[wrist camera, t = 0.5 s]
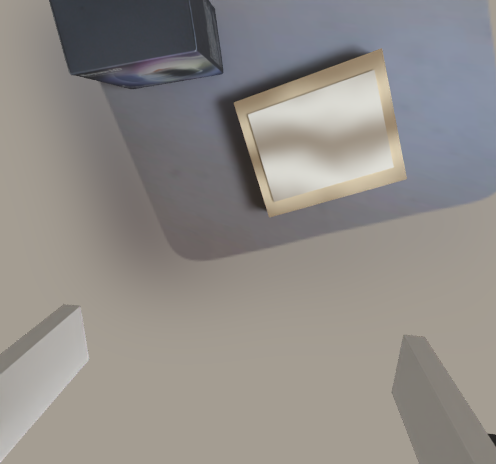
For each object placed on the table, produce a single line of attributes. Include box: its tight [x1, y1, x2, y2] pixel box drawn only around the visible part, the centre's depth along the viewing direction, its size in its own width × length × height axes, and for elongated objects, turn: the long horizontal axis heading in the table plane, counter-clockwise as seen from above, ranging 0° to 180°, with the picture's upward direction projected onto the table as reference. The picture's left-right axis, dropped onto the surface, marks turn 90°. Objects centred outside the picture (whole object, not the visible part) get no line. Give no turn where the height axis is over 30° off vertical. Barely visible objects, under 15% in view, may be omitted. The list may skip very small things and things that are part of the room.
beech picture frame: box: [234, 48, 407, 217], centre depth 32 cm, size 12×14×3 cm
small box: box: [49, 0, 223, 89], centre depth 28 cm, size 11×6×10 cm, turn 98°
